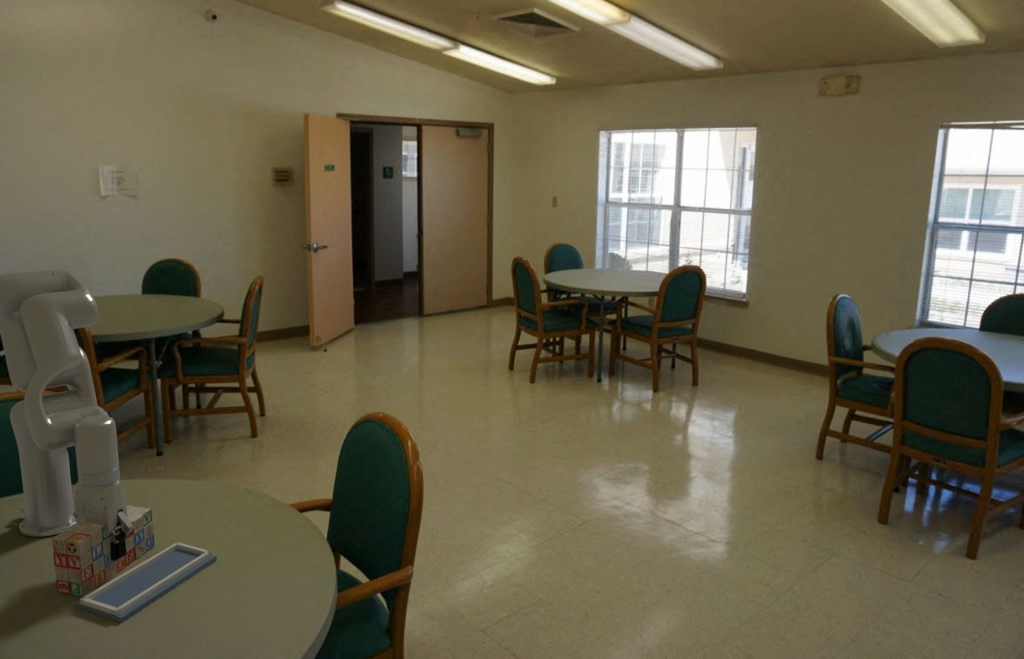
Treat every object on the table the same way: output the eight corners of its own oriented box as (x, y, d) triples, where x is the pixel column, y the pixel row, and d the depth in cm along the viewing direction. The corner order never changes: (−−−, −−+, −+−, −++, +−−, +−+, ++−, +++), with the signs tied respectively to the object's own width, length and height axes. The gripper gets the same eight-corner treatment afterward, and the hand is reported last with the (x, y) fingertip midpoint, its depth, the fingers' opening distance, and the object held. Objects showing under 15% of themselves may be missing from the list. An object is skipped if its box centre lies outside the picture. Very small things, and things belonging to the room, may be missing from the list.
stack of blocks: (131, 542, 169) (127, 492, 167) (155, 546, 168) (152, 496, 165) (56, 593, 149) (51, 537, 146) (83, 598, 148) (78, 541, 145)
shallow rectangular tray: (75, 607, 145) (74, 598, 144) (174, 548, 167) (173, 540, 167) (121, 622, 140) (120, 613, 140) (216, 560, 163) (216, 552, 163)
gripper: (52, 474, 153) (60, 553, 157) (115, 490, 147) (122, 571, 151) (84, 461, 160) (91, 537, 164) (145, 476, 154) (151, 554, 158)
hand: (105, 553), depth 157 cm, fingers closed on stack of blocks, 6 cm apart
